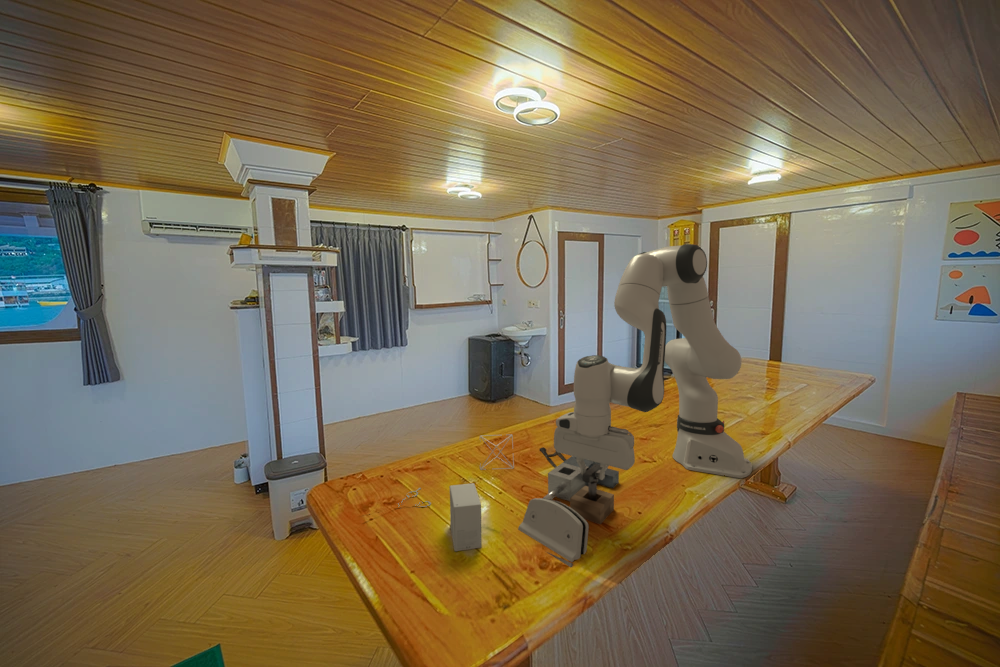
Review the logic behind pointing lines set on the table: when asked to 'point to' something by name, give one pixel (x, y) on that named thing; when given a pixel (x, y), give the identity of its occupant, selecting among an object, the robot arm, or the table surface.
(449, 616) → the table surface
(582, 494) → the brown square ring block
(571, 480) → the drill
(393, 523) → the table surface
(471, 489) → the skincare box
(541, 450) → the forked twig branch
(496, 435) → the geometric polyhedron
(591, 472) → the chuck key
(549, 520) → the grey curved-top slotted block
